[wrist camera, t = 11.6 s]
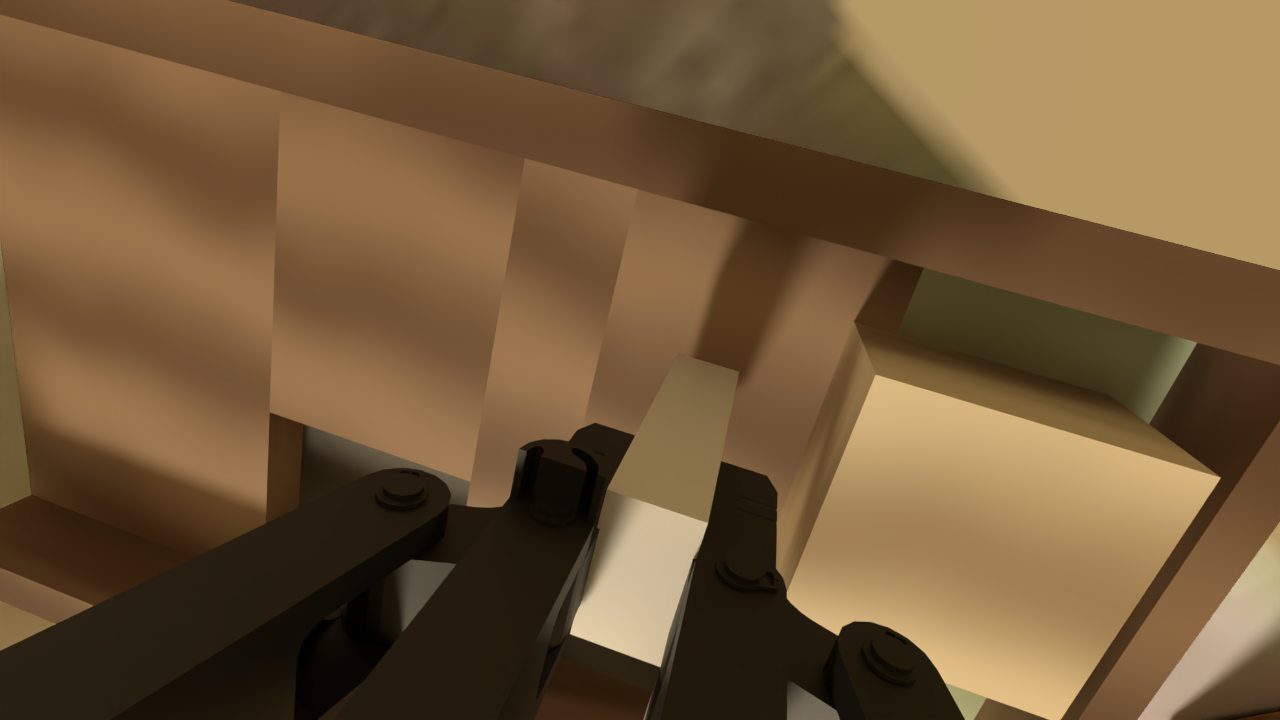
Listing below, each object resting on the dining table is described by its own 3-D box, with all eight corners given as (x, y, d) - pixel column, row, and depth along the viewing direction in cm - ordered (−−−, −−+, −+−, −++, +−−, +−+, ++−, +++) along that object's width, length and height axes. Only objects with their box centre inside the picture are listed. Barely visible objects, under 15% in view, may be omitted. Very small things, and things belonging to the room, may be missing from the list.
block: (853, 321, 15) (875, 374, 12) (1110, 395, 15) (1221, 478, 11) (776, 522, 17) (774, 622, 14) (997, 596, 17) (1058, 722, 13)
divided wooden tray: (42, -45, 19) (-195, -109, 15) (1232, 261, 15) (1432, 309, 10) (89, 500, 26) (-62, 575, 22) (909, 813, 22) (942, 989, 17)
